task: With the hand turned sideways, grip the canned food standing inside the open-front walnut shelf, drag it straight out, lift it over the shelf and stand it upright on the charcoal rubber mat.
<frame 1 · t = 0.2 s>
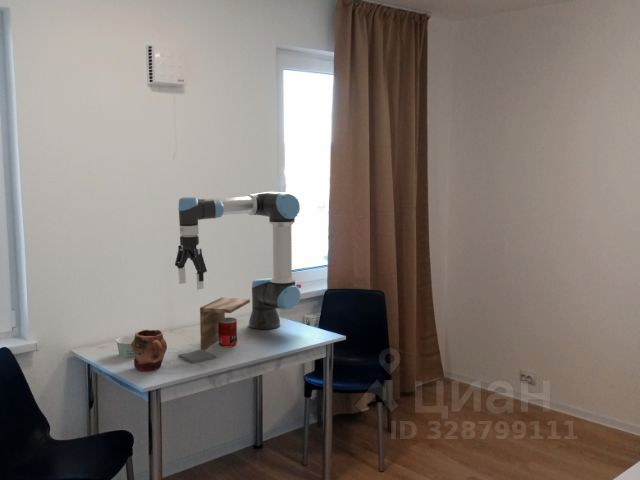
hand: (191, 286, 264), 27 cm above the table, tool pointing down, fingers open, 13 cm apart
walnut shelf: (227, 344, 276), on the table
food container: (131, 355, 260), on the table
terracotta animal pitcher: (150, 369, 242), on the table
canned food: (227, 344, 276), on the table
rubber mat: (197, 357, 257), on the table
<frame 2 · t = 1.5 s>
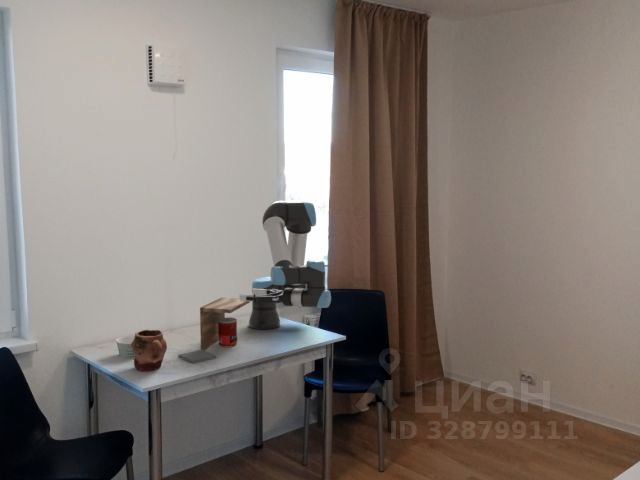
hand: (246, 294, 271), 22 cm above the table, tool horizontal, fingers open, 13 cm apart
nothing on the table moved.
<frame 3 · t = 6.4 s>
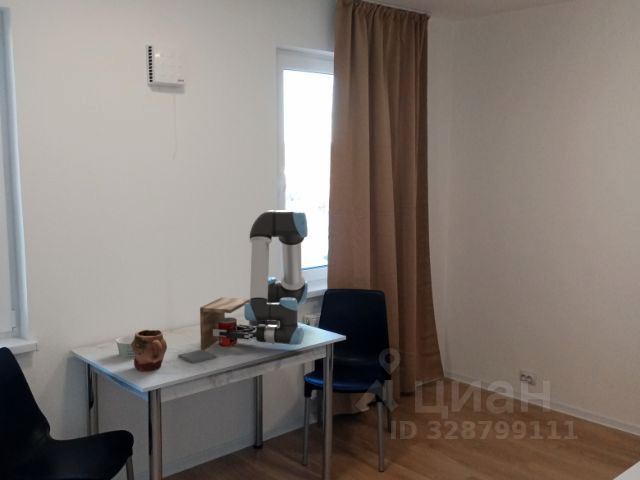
hand: (217, 330, 277), 6 cm above the table, tool horizontal, fingers closed on canned food, 8 cm apart
canned food: (227, 344, 276), on the table, touching gripper
everything else where it was.
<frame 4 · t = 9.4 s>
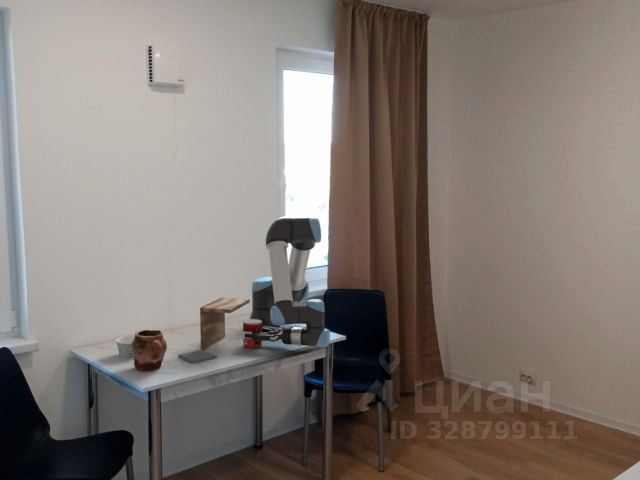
hand: (242, 332, 273), 6 cm above the table, tool horizontal, fingers closed on canned food, 8 cm apart
canned food: (252, 346, 273), on the table, touching gripper
everything else where it was.
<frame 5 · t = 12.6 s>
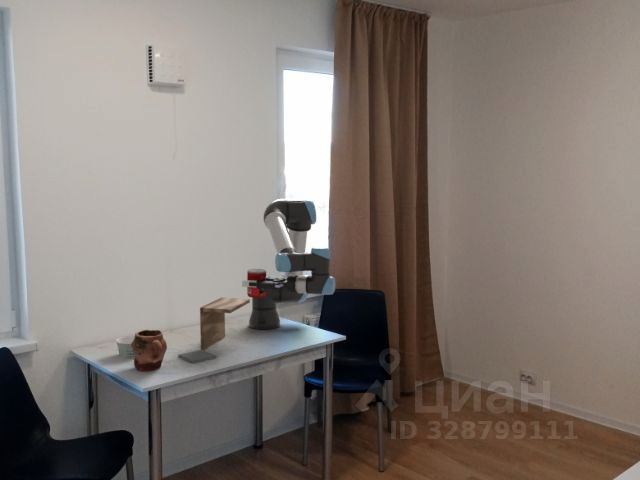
hand: (246, 281, 270), 28 cm above the table, tool horizontal, fingers closed on canned food, 8 cm apart
canned food: (256, 296, 270), point 22 cm above the table, touching gripper
everything else where it was.
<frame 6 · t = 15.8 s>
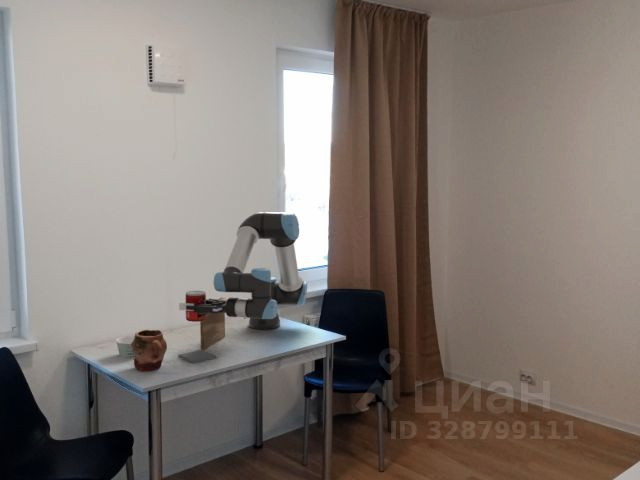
hand: (184, 304, 255), 22 cm above the table, tool horizontal, fingers closed on canned food, 8 cm apart
canned food: (195, 320, 254), point 15 cm above the table, touching gripper
everything else where it was.
when the fingers open (8 cm above the table, at t = 18.9 s): canned food drops 1 cm, resting on rubber mat.
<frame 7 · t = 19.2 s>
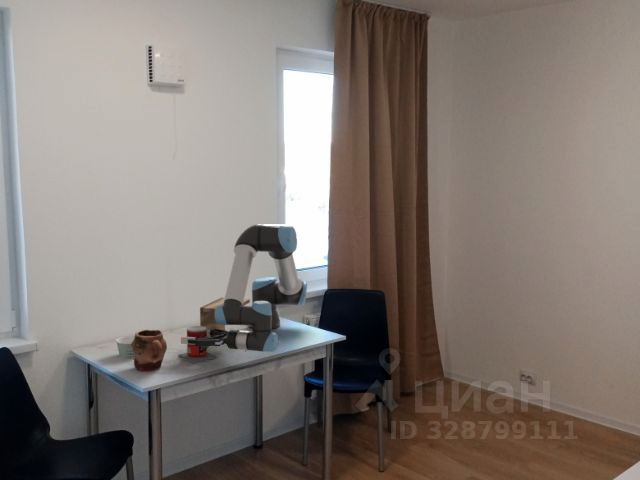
hand: (188, 336, 257), 8 cm above the table, tool horizontal, fingers open, 11 cm apart
canned food: (197, 355, 257), point 1 cm above the table, touching rubber mat
everything else where it was.
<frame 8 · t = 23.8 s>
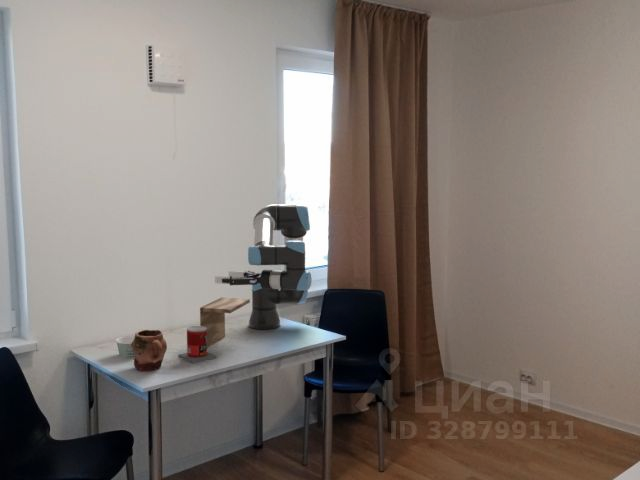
hand: (222, 277, 258), 32 cm above the table, tool horizontal, fingers open, 13 cm apart
nothing on the table moved.
at the end: canned food inside the target area on the rubber mat (0.1 cm from its centre), point 0.8 cm above the rubber mat's base; canned food tilted 0°; the gripper is holding nothing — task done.
